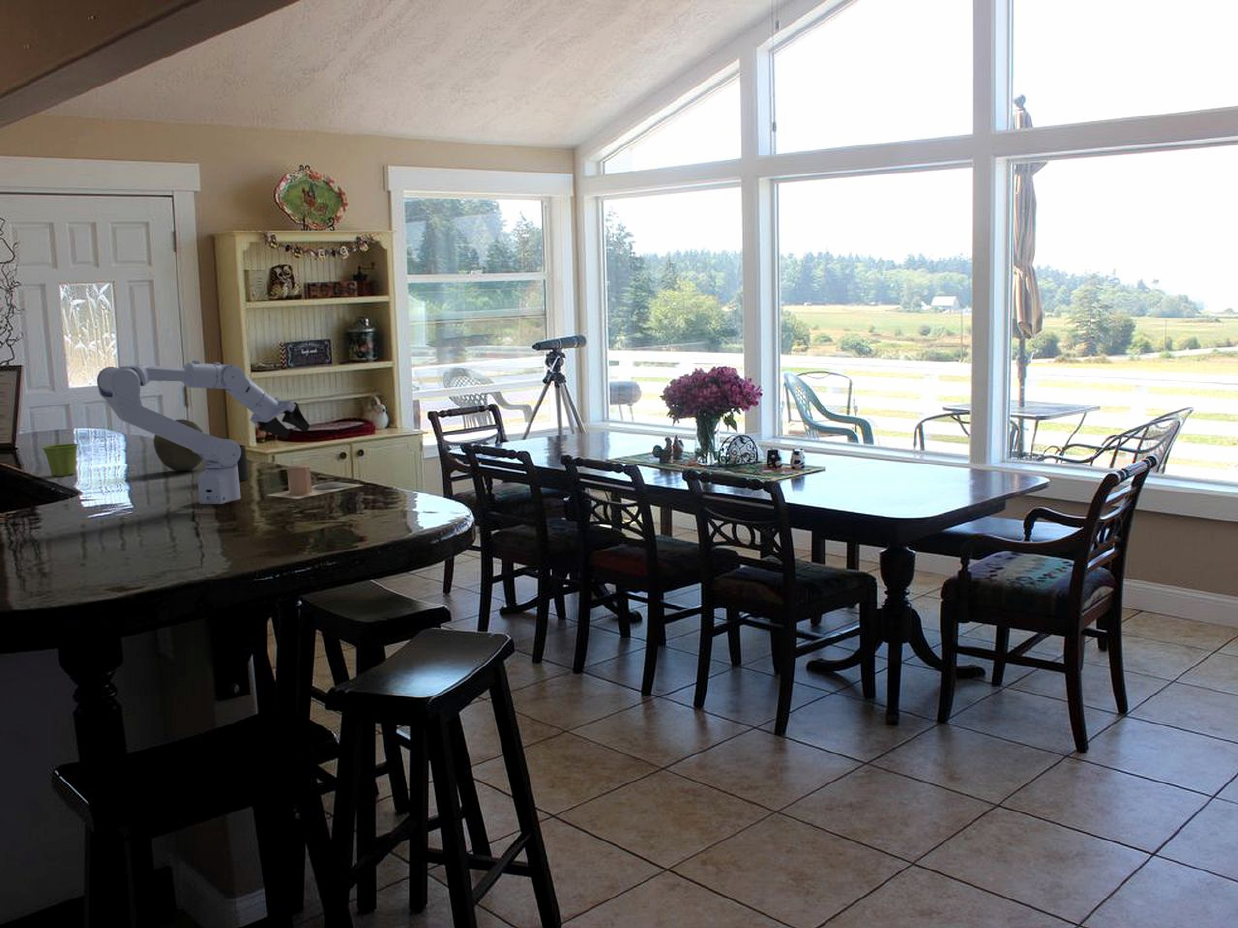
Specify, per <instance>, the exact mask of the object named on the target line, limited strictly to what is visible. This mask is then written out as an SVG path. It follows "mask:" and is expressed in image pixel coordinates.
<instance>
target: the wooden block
mask: <svg viewBox="0 0 1238 928" xmlns="http://www.w3.org/2000/svg"><path fill="white" fill-rule="evenodd" d="M286 470H287V482H288V491H289V494H290V495H303V494H309V493H312V486H313V485H312V478H311V477H312V476H311V475H312V474H311V467H310V465H309V464H297V465H296V464H295V465H290V466H287V468H286Z"/></svg>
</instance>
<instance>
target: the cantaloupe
mask: <svg viewBox="0 0 1238 928" xmlns="http://www.w3.org/2000/svg"><path fill="white" fill-rule="evenodd" d="M175 421H177V422H179V423H182V424H184V425H186V426H189V427H191V428H193V429H195V430H198V431H200V432H202V433H204V432H203V430H202V428H200V426H199V425H198V424H197V423H195V422H193V421H190V420H187V419H182V418H181V419H175ZM153 446H154V451H155V453H156V455H157V457H158V458H159V460H160V461H161V463H162V464H164V466H166V467H167V468H169V469H170V470H171V471H172V470H173V471H175V472H176V471H177V472H188V471H191V470H194V469H195V468H196V467H198V466H199V465H200V464H201V463H202V462H203V461H204V460H203V459H202V457H201V456H200V455H199V454H197V453H194V452H193V451H192V450H191V449H188V448H186V447H183V446H181V445H179V444H176V443H174V442H172V441H169V440H167V439H165V438H162V437H160V436H157V435H155V434H154V436H153Z"/></svg>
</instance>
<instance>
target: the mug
mask: <svg viewBox="0 0 1238 928" xmlns="http://www.w3.org/2000/svg"><path fill="white" fill-rule="evenodd" d="M239 446H240V449H241V456H240V459H239V460H238V462H237V465H238V475H239V483H240V482H245V481H247V480H249V472H248V460H247V449H246V446H245V445H242V444H241V445H240V444H239Z"/></svg>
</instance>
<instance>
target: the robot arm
mask: <svg viewBox="0 0 1238 928" xmlns="http://www.w3.org/2000/svg"><path fill="white" fill-rule="evenodd" d="M152 381H155V382H182V384H183V385H184V386H185V387H187V388H195V389H196V388H200V389H218V390H220V389H221V390H223V389H225V392H227V393H228V394H230V396H232V398H234V399H235V400H236V401H238V403H240V404H242V405H243V406H244V407H245V408H246V409H248V410H249V411H250V412H252V413H253V414H251V417H250V419H249V421H250V422H252V423H253V424H254V425H259V426H258V430H259V431H260V432H265V433H270V434H273V435H276V437H280V438H282V439H284V440H286V439H288V438H289V435H290V433H291V431H290V430H289V428H287V427H286V426H285V425H284V424H283V423H287V424H290V425H292V426H294V427H295V428H297V429H299V430H301V432H304V433H308V430H309V429H310V426H311V425H310V424H309V422H308V421H307V420H306V418H305V417H304V415H303V413H302V412H301V410H300V407H299V404H298V403H297V402H293V401H292V400H280V397H273V396H272V395H270V394H269V393H267V392H266V391H265V390H264V389H263V388H261V387H260V386H259V385H258V384H256V383H255V382H254V381H253V380H252V379H250V378H249V377H247V376H245V372H244V371H243V368H242V367H240V366H237V365H235V364H221V363H220V362H218V361H217V362H216V361H214V362H213V363H203V362H201V361H200V360H194V359H193V360H192V362H187V363H186V364H185V365H183V366H182V367H172V366H171V367H170V366H159V365H147V364H133V365H123V366H122V365H121V366H119V367H116V366H107V367H104V368H102V369H101V370H100V371H99V373H98V374H97V377H96V384H97V388H98V389H97V390H98V393H99V395H100V396H101V397H102V398H103V400H104V401H106V402H107V404H108V405H109V406H110V408H111V409H112V410H113V412H114V414H115V415H116V416H117V418H119V420H121V421H122V422H124V423H128V424H129V425H132V426H134V427H136V428H139V429H141V430H144V431H146V432H147V433H151V434H153V435H154V436H155V435H157V436H160V437H162V438H165V439H167V440H169V441H172V442H174V443H176V444H179V445H181V446H183V447H186V448H188V449H191V450H192V451H193V452H194V453H197V454H199V455H200V456H201V457H202V459H203V460H202V461H204V462H205V465H204V466H205V469H204V471H201V473H199V475H198V477H197V488H198V490H197V491H198V499H199V504H200V505H202V504H203V505H205V504H207V505H211V504H212V505H222V504H225V503H229V502H233V501H237V500H240V499H241V498H242V497H241V490H240V488H241V487H240V482H239V475H238V465H237V462H238V460H239V459H240V456H241V449H240V446H239V445H240V444H239V443H238V442H237V441H235V440H233V439H231V438H227V439H224V438H219V437H217V436H214V435H211V434H208V433H204V432H203V433H202V432H200V431H198V430H195V429H193V428H191V427H189V426H186V425H184V424H182V423H179V422H177V421H175V420H176V419H175V420H174V419H173V418H170V417H168V416H166V415H163V414H162V413H161V414H160V413H159V412H156V411H154V410H152V409H150V408H148V407H145V406H143V404H142V400H141V387H145V386H147V384H149V383H150V382H152ZM282 414H284V415H283V417H282V419H281V422H280V420H279V419H278V418H277V417H278V416H279V415H282Z"/></svg>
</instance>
